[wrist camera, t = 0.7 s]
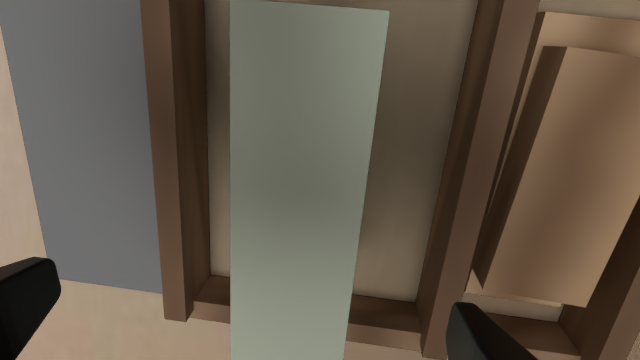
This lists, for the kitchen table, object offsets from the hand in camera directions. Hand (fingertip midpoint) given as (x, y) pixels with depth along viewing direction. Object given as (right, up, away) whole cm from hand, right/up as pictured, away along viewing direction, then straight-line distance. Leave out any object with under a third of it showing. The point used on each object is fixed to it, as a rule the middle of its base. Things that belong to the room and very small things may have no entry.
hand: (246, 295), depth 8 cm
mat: (-11, +5, +13) cm, 17 cm away
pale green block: (+2, +4, +11) cm, 12 cm away
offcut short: (+13, +3, +9) cm, 16 cm away
